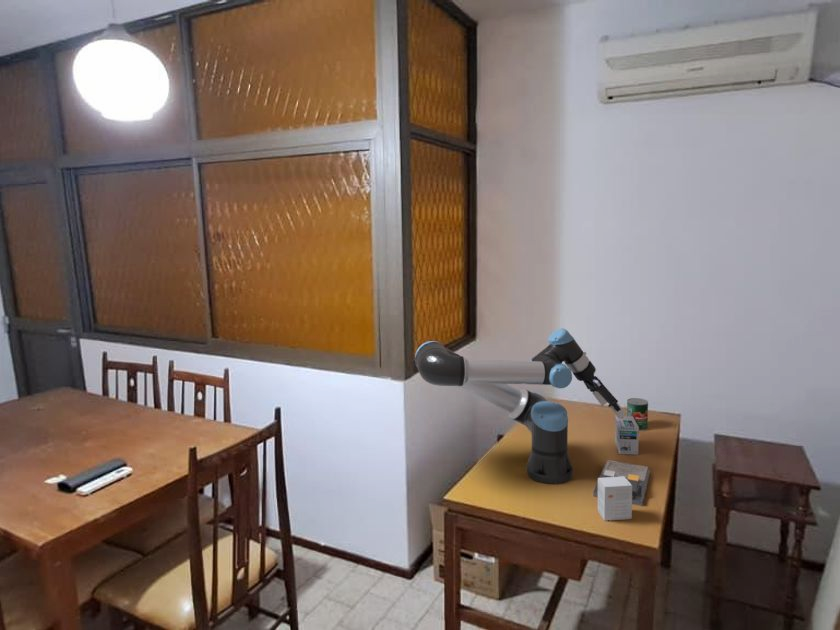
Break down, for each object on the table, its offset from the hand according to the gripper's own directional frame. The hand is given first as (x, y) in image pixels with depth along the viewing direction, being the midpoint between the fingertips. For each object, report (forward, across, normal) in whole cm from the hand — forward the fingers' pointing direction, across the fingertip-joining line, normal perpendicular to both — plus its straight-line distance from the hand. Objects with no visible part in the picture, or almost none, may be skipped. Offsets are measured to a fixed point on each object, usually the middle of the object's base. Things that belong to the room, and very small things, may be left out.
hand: (613, 409), depth 193 cm
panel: (+7, -25, +16) cm, 31 cm away
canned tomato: (+24, +18, -6) cm, 30 cm away
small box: (+1, -41, +25) cm, 48 cm away
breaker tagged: (+4, -32, +15) cm, 35 cm away
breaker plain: (+1, -28, +19) cm, 34 cm away
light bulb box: (+16, 0, +5) cm, 16 cm away
